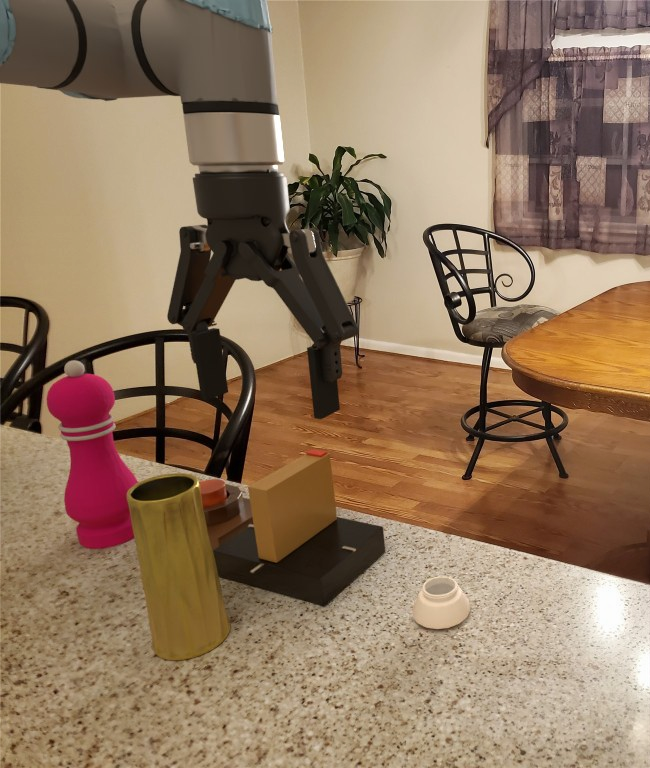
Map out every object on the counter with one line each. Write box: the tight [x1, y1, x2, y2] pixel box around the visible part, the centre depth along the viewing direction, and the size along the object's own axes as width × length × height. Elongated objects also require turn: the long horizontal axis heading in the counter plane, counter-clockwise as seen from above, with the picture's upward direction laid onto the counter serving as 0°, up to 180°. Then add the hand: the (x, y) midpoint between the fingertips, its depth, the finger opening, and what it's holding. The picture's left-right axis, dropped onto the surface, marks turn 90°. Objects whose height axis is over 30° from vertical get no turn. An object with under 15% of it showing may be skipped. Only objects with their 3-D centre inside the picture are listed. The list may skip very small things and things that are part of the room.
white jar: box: [412, 575, 471, 630], centre depth 60 cm, size 5×3×5 cm
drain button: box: [199, 478, 227, 507], centre depth 75 cm, size 4×4×2 cm
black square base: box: [213, 506, 386, 607], centre depth 69 cm, size 13×13×3 cm
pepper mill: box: [46, 359, 139, 550], centre depth 73 cm, size 7×7×20 cm
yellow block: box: [247, 448, 338, 563], centre depth 67 cm, size 9×2×8 cm, turn 156°
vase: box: [127, 472, 231, 661], centre depth 57 cm, size 6×6×14 cm
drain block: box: [203, 483, 254, 550], centre depth 76 cm, size 10×8×4 cm
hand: (269, 405), depth 65 cm, fingers open, 13 cm apart
